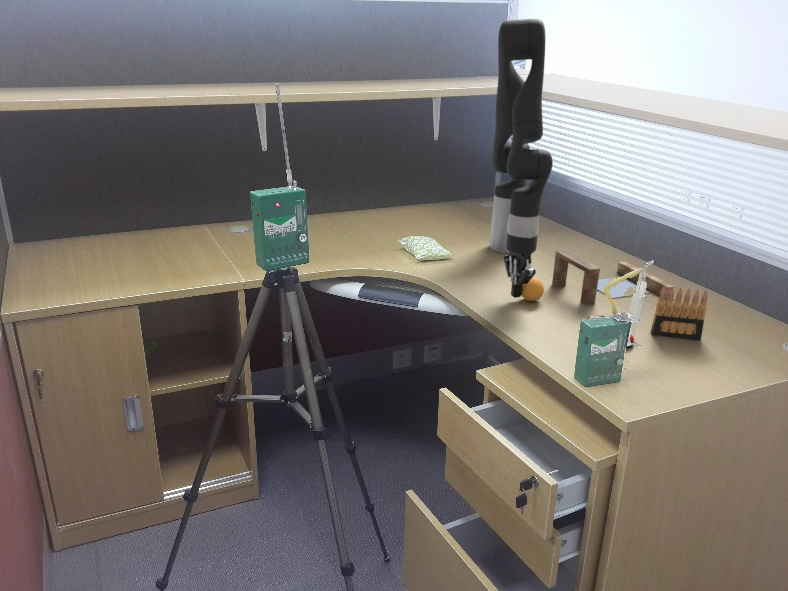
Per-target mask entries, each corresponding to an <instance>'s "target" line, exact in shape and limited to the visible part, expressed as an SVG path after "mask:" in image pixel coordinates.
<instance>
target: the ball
mask: <svg viewBox="0 0 788 591" xmlns="http://www.w3.org/2000/svg"><path fill="white" fill-rule="evenodd" d="M544 293H545V287H544V284H543V282H542V281H541V280H539V279H538V278H536V277H532V279H531V280H530V281H529V283H528V284H523V285H522V293H521V297H522V298H523V299H524V300H526V301H528V302H536V301H539V300H540V299H541V298H542V297H543V296H544Z"/></svg>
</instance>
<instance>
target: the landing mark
mask: <svg viewBox="0 0 788 591" xmlns="http://www.w3.org/2000/svg"><path fill="white" fill-rule="evenodd" d="M616 277H617V276H616ZM616 277H610V278H611V279H612V278H613V279H612V280H614V279H616ZM618 277H619V276H618ZM618 277H617V278H618ZM611 279H609V278H603V279H602V278H601V279H598V286H597V291H598V290H599V291H598V292H600V291H601V292H602V290H603V293H604V287H605V285H607V284H608V283H609V282H611V281H612V280H611ZM610 280H611V281H610ZM608 281H609V282H608ZM618 284H619V285H617V284H616V286H615V287H614V286H613V287H612V288H611V289H610V295H611V294H612V295H611V296H612V297H613V299H618V298H619V297H621V298H623V297H622V296H624V294H623V293H624V292H626V291H627V290H628V289H627V288H629V287H633V289H634V290H635V288H634V287H636V286H637V285H636V284H635V283H633V282H630V281H629V280H627V279H625V281H624V282H620V283H618ZM602 288H603V289H602ZM601 292H600V293H601ZM603 293H602V294H603ZM647 294H650V292H649V291H648V290H646V294H645V295H647ZM613 299H612V300H613ZM619 299H620V298H619Z"/></svg>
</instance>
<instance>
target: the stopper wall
mask: <svg viewBox="0 0 788 591" xmlns="http://www.w3.org/2000/svg"><path fill="white" fill-rule="evenodd" d="M636 269H639V268H638V267H636V266H634V265H633V264H630V263H629V262H626V261H618V264H617V270H616V272H617V273H618V274H620V273H621V274H620V275H622V274H623V275H622V276H624V275H625V274H627V273H629V272H631V271H634V270H636ZM646 273H647V276H646V281H647V289H649V290H650V291H652V292H654V293H656V294H658V295H660V293H661V290H662V288H663V287H664V286H665V289H666V295H665V299H667V298H668V294H669V291H670V289H671V288H672V287H673V288H674V289H675V286H674V285H672V284H670V283H668V282H667V281H664V280H662V279H660V278H658V277H657V276H654V275H652V274H650V273H649V272H646ZM638 278H639V274H637V275H636V276H634V277H632V278H630V280H631V281H633V282H635V283H637V281H638Z"/></svg>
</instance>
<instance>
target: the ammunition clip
mask: <svg viewBox="0 0 788 591" xmlns="http://www.w3.org/2000/svg"><path fill="white" fill-rule="evenodd" d="M674 290H675V287H674V288H673V287H672V288H671V289H670V291H669V294H668V298H665V295H666V289H665V286H664V287H663V288H662V290H661V293H660V294H659V297H658V300H657V303H656V309H655V313H654V315H653V316H654V317H653V321H652V324H651V330H650V334H651V336H652V337H653V336H655V337H663V338H664V337H665V338H671V339H682V340H692V341H702V336H703V330H704V324H705V316H706V311H707V304H708V303H707V302H708V290H707V289H705V290H704V292H703V294H702V296H701V298H699V297H700V293H699V292H700V291H699V289H696V290H695V292H694V294H693V297H692V300H691V288H687V290H686V292H685V295H684V298H683V289H682V287H680V288H679V289H678V291H677V292H676V297H675V299H674V296H675V291H674ZM682 299H683V301H682ZM699 299H700V301H699ZM690 301H691V304H690ZM699 302H700V303H699Z"/></svg>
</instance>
